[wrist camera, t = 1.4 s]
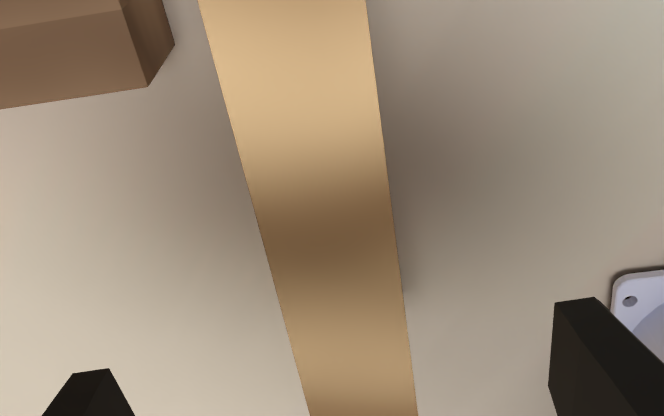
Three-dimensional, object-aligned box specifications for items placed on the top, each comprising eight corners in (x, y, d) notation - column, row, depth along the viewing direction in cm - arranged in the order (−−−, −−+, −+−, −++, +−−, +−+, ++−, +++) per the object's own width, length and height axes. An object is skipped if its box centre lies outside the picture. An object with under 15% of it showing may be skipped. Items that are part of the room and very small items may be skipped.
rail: (401, 295, 23) (420, 434, 18) (321, 304, 23) (317, 443, 18) (347, -131, 16) (353, -95, 10) (229, -110, 16) (179, -64, 11)
